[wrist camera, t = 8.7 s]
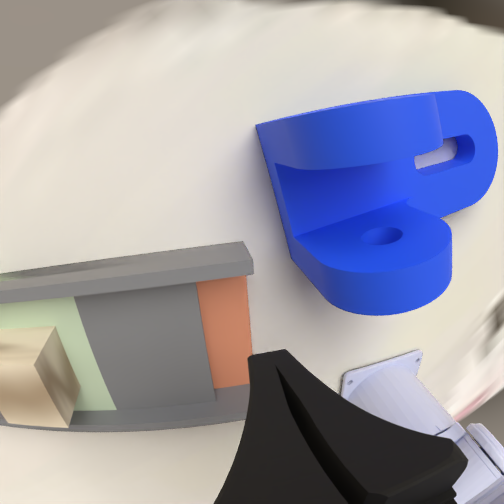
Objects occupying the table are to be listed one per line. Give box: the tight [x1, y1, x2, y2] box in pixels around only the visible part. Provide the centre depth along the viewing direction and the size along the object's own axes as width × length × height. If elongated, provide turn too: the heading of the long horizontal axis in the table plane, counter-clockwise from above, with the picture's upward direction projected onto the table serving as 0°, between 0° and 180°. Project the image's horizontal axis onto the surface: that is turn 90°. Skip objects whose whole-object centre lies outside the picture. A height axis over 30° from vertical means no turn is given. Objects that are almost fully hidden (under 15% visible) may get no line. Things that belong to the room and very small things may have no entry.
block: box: [0, 326, 81, 428], centre depth 16 cm, size 5×5×4 cm
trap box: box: [0, 241, 254, 432], centre depth 18 cm, size 12×27×3 cm, turn 93°
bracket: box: [256, 90, 498, 316], centre depth 15 cm, size 18×8×9 cm, turn 105°
